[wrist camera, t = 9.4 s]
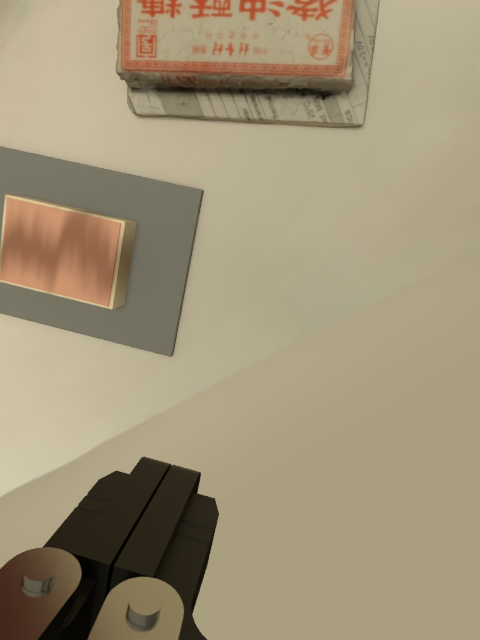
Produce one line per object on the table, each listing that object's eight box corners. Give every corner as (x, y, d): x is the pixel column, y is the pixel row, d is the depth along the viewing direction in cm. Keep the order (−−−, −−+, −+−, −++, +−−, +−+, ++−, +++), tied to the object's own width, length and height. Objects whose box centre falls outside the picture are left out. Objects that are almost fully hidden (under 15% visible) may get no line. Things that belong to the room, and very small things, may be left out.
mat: (-4, 145, 38) (-8, 144, 38) (203, 190, 36) (201, 189, 36) (-18, 306, 42) (-22, 307, 41) (172, 355, 40) (171, 356, 39)
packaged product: (106, 103, 32) (108, -62, 30) (132, 118, 37) (136, -23, 35) (370, 115, 30) (393, -63, 28) (362, 130, 34) (381, -21, 32)
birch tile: (137, 221, 37) (23, 196, 38) (124, 221, 35) (3, 194, 36) (124, 304, 39) (15, 277, 40) (111, 309, 36) (-4, 281, 37)
